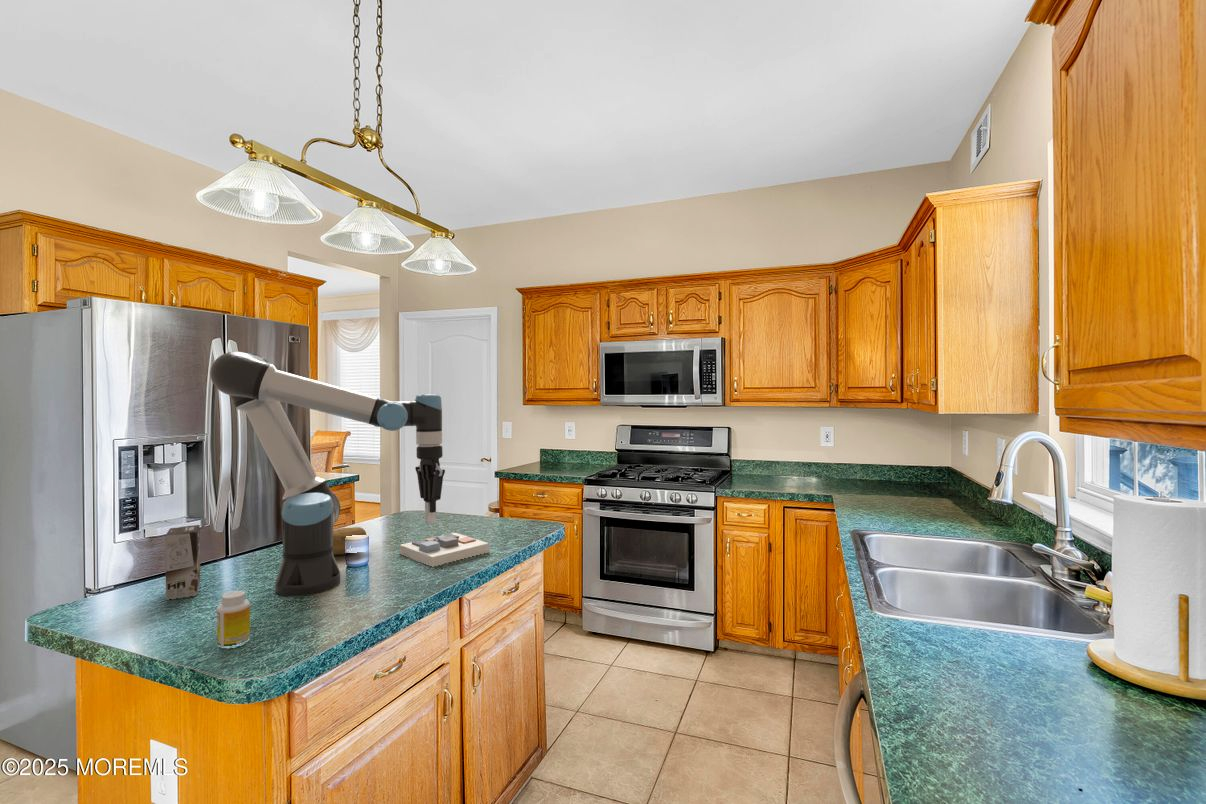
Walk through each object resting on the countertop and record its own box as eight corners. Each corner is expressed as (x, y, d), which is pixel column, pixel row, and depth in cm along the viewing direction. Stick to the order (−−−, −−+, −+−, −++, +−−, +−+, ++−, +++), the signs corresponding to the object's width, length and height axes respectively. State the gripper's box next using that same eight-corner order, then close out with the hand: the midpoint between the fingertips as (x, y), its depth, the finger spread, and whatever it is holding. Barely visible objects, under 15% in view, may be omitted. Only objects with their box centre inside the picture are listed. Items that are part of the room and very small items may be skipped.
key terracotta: (463, 551, 174) (463, 542, 174) (456, 548, 177) (456, 539, 177) (475, 548, 177) (475, 539, 177) (467, 545, 180) (467, 536, 180)
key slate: (426, 555, 164) (426, 545, 164) (419, 552, 167) (419, 543, 167) (439, 552, 167) (439, 542, 167) (432, 549, 170) (432, 540, 170)
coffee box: (197, 596, 137) (197, 531, 136) (164, 601, 133) (164, 535, 133) (201, 585, 145) (200, 523, 144) (170, 589, 141) (169, 527, 141)
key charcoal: (445, 551, 169) (445, 541, 169) (438, 548, 172) (438, 538, 172) (458, 548, 172) (458, 538, 172) (450, 545, 175) (450, 536, 175)
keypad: (432, 567, 160) (432, 553, 160) (399, 554, 172) (399, 541, 172) (488, 552, 175) (488, 539, 175) (454, 541, 187) (454, 529, 187)
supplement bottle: (256, 640, 113) (256, 590, 113) (231, 652, 108) (231, 600, 107) (236, 636, 115) (235, 587, 114) (210, 648, 109) (209, 597, 109)
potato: (317, 552, 174) (317, 527, 174) (365, 547, 180) (365, 523, 180) (316, 561, 165) (316, 534, 165) (367, 555, 171) (367, 529, 171)
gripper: (452, 445, 165) (453, 523, 166) (429, 442, 174) (430, 517, 174) (429, 447, 159) (431, 528, 160) (407, 444, 168) (408, 521, 169)
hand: (430, 522), depth 167 cm, fingers closed
